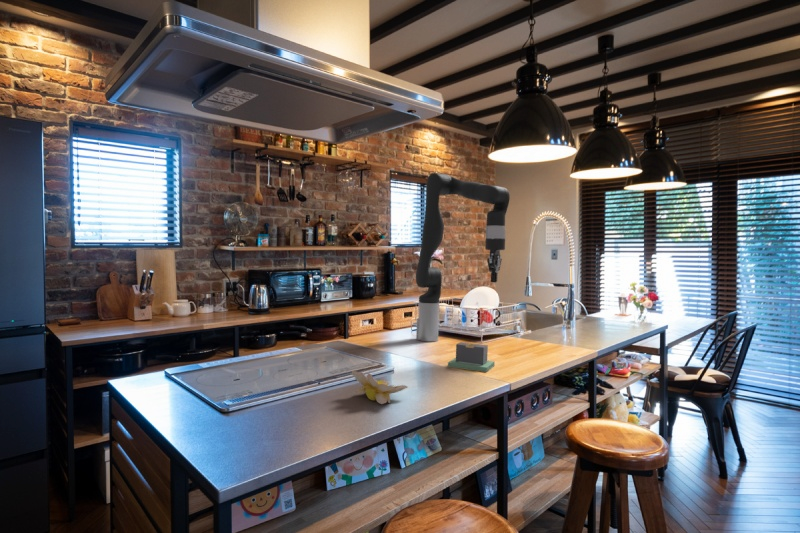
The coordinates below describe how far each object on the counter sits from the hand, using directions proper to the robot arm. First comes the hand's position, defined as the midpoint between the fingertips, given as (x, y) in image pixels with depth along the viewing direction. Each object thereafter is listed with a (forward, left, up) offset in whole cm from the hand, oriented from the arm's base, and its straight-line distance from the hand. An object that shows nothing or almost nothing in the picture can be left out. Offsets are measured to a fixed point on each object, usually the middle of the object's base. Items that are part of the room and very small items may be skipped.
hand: (494, 282), depth 176 cm
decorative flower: (-12, -68, -29) cm, 75 cm away
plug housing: (-2, -20, -27) cm, 34 cm away
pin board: (-2, -20, -29) cm, 35 cm away
